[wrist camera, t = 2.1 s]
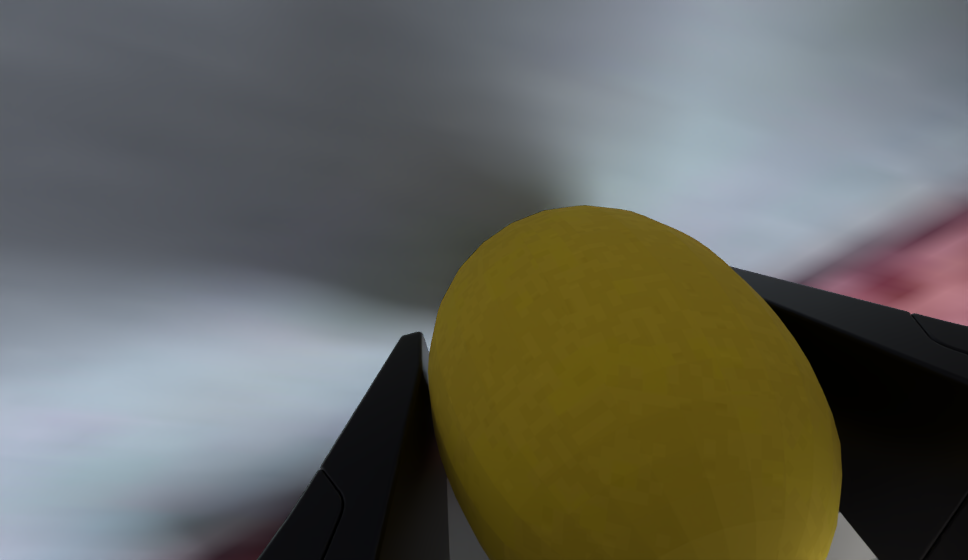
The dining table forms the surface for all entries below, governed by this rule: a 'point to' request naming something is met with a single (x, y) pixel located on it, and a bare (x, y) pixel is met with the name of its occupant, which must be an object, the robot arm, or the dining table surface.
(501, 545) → the lemon
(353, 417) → the robot arm
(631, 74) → the dining table surface
